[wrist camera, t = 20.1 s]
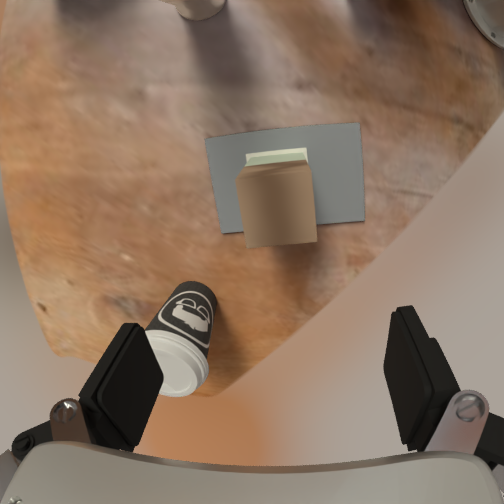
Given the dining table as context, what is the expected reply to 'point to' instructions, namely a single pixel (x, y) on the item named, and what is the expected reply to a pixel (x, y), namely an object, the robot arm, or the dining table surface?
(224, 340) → the dining table surface
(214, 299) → the coffee cup
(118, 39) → the dining table surface
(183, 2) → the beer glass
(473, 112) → the dining table surface
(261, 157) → the sage block
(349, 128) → the felt mat
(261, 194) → the walnut block
